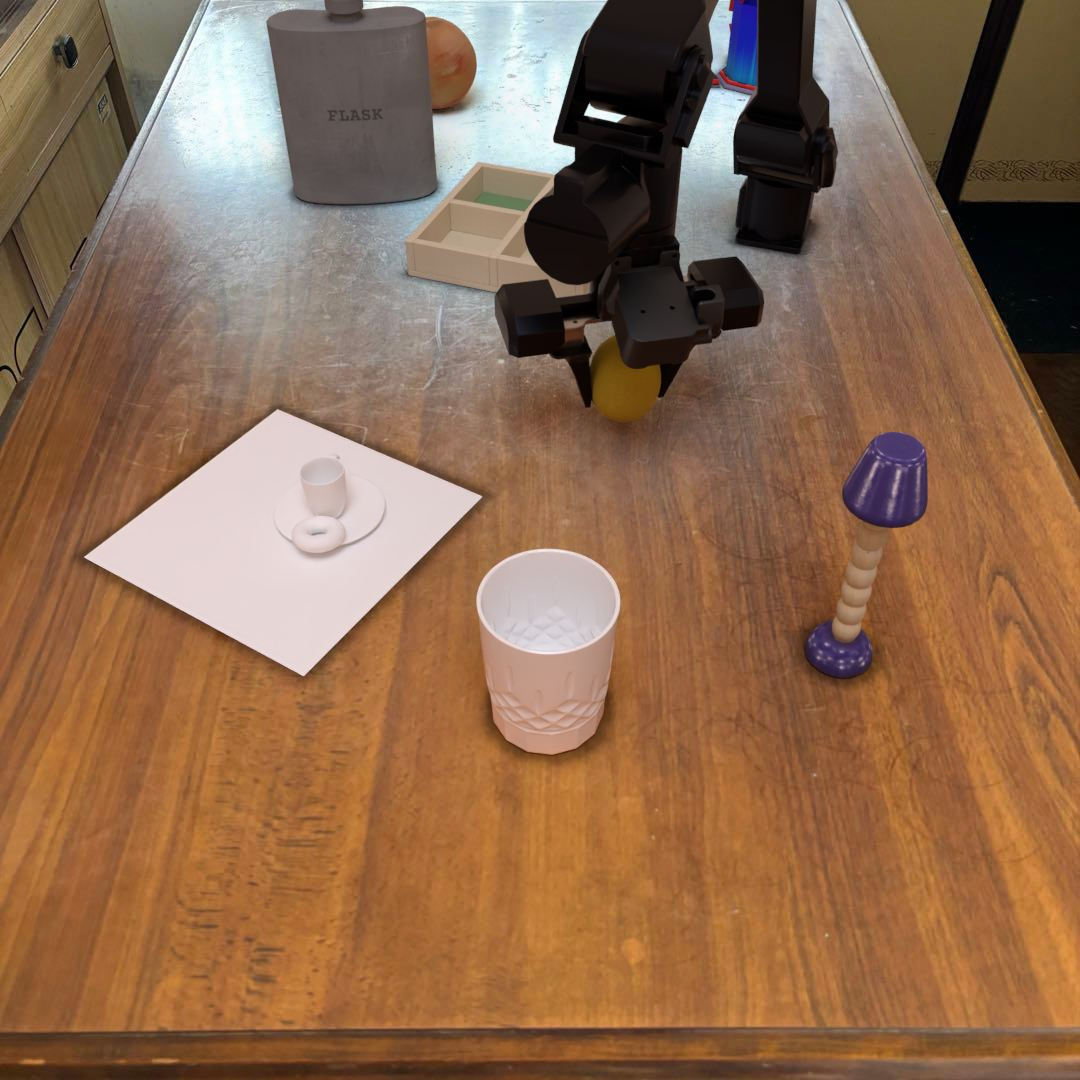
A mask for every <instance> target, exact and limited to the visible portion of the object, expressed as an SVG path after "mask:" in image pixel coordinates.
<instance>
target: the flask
mask: <svg viewBox="0 0 1080 1080" xmlns="http://www.w3.org/2000/svg"><path fill="white" fill-rule="evenodd" d="M323 3H324V9H299V8H296V9H286V10H281V11H278V12H276V13H274V14H271V16H269V17H268V18H267V19H266V22H265V23H266V28H267V35H268V40H269V41H268V42H269V47H270V52H271V53H270V54H271V58H272V59H271V60H272V64H273V70H274V71H273V72H274V77H275V83H276V89H277V95H278V101H279V108H280V113H281V114H280V115H281V120H282V125H283V131H284V137H285V144H286V150H287V156H288V162H289V167H290V175H291V181H292V187H293V192H294V196H295V197H297V198H299V199H300V200H302V201H304V202H307V203H312V204H319V205H320V204H322V205H344V206H345V205H373V204H387V203H388V204H389V203H395V202H404V201H411V200H416V199H421V198H424V197H426V196H430V195H431V194H432V193H433V192H434V191H436V189H437V187H438V176H437V175H438V174H437V162H436V147H435V146H436V145H435V133H434V118H433V109H432V102H431V88H430V73H429V59H428V45H427V30H426V17H427V16H426V14H425V13H424V12H423V11H421V10H419V9H418V8H415V7H412V6H406V5H393V6H384V7H373V8H372V7H371V8H364V0H323Z"/></svg>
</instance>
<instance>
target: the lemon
mask: <svg viewBox="0 0 1080 1080" xmlns="http://www.w3.org/2000/svg"><path fill="white" fill-rule="evenodd" d="M590 375H591V388H592V400H591V403H592V404H593V406H594V407H595V408H596V410H597V411H598V412H599V413H600V414H601V415H602V416H604V417H605V418H606V419H609V420H611V421H613V422H616V423H617V422H619V423H629V422H634V421H637V420H639V419H641V418H643V417H644V416H645V415H647V414H648V413H649V412H650V411H651V409H652V408H653V407H654V405H655V404H656V402H657V400H658V394H659V391H660V386H661V371H660V365H653V366H648V367H646V368H643V369H632V368H629V367H627V366H626V365H625V364H624V363H623V362H622V360H621V357H620V351H619V347H618V343H617V340H616V336H615V334H614V335H612V336H610V337H608V338H606V339H605V340H603V342H601V343H600V345H598V347H597V348H596V350H595V352H594V353H593V355H592V358H591V361H590Z"/></svg>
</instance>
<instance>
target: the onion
mask: <svg viewBox="0 0 1080 1080" xmlns="http://www.w3.org/2000/svg"><path fill="white" fill-rule="evenodd" d="M426 30H427V45H428V59H429V73H430V88H431V102H432V110H439V109H446V108H450V107H453V106H456V105H458V104H460V103H461V102H462V101H463V99H464V98H465V97H466V96H467V95H468V93H469V91H470V90H471V88H472V86H473V84H474V81H475V79H476V75H477V70H478V60H477V54H476V51H475V48H474V46H473V43H472V42H471V41H470V39H469V37H468V36H467V35H466V33H465V32H464V31H463V30H461V28H460V27H458V26H457V25H456V24H455V23H453V22H451V21H449V20H447V19H444V18H441V17H439V16H438V17H437V16H426Z"/></svg>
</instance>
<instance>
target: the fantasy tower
mask: <svg viewBox="0 0 1080 1080" xmlns="http://www.w3.org/2000/svg"><path fill="white" fill-rule="evenodd" d="M728 11H729V12H732V15H731V23H728V26H729V39H728V40H729V41H728V48H727V49H728V50H727V59H726V66H725V67H724V68H721V70H719V72H717V73H716V74H715V72H713V83H712V86H711V89H712V88H714V89H717V88H721V86H722V88H723V89H725V90H730V91H734V92H737V93H743V94H745V95H750V96H751V95H752V93H753V91H754V90H755V88H756V86H757V0H729V5H728Z"/></svg>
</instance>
